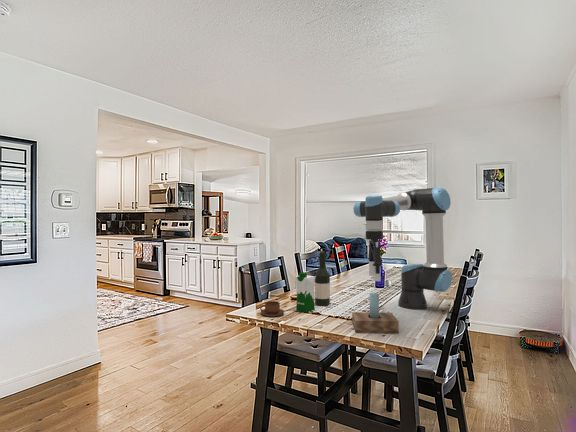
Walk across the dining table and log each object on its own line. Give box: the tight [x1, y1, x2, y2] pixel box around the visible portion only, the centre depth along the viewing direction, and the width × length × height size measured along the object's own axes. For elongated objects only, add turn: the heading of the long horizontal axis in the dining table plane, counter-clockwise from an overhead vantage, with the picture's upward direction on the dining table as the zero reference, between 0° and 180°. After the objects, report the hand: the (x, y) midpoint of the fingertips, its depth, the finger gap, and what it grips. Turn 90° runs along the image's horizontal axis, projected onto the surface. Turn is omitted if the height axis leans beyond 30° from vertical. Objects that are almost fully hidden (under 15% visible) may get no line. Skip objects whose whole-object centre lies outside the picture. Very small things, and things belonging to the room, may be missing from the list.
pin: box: [369, 292, 380, 318], centre depth 163 cm, size 4×4×14 cm
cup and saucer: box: [259, 300, 285, 318], centre depth 186 cm, size 12×12×6 cm
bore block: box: [351, 311, 400, 334], centre depth 163 cm, size 18×14×5 cm
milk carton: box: [294, 271, 316, 314], centre depth 194 cm, size 9×9×20 cm
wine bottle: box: [314, 250, 331, 307], centre depth 207 cm, size 8×8×30 cm
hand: (374, 278), depth 163 cm, fingers open, 13 cm apart
